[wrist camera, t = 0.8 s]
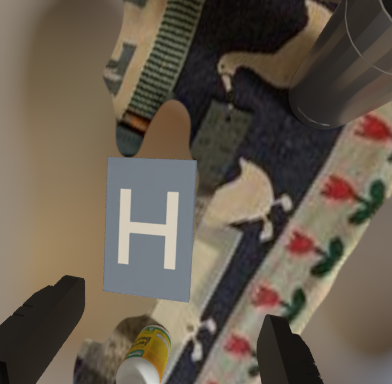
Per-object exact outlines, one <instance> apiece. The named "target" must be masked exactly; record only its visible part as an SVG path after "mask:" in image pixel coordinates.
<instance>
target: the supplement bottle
mask: <svg viewBox="0 0 392 384" xmlns="http://www.w3.org/2000/svg"><path fill="white" fill-rule="evenodd" d="M171 348H172V340H171V337H170V335H169V333H168V332H167V330H165V329H164V328H163V327H161V326H158V325H149V326H146V327H145V328H143V329H142V330H141V332H140V333H139V335H138V337H137V338H136V340H135V342H134V343H133V345H132V347H131V348H130V350H129V352H128V353H127V355H126V357H125V359H124V360H123V362H122V364H121V365H120V367H119V369H118V372H117V377H116V384H160V382H161V379H162V376H163V373H164V370H165V367H166V364H167V361H168V358H169V355H170V352H171Z"/></svg>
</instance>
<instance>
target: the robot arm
mask: <svg viewBox="0 0 392 384" xmlns="http://www.w3.org/2000/svg"><path fill="white" fill-rule="evenodd" d="M288 94H289V104H290V108H291V110H292V112H293V113H294V115H295V116H296V117H297V118H298V120H299V121H301V122H302V123H303V124H305V125H307V126H309V127H311V128H316V129H333V128H337V127H339V126H342V125H344V124H346V123H348V122H350V121H352V120H354V119H356V118H358V117H360V116H363V115H365V114H367V113H369V112H371V111H373V110H375V109H377V108H379V107H381V106H383V105H385V104H387V103H389V102H391V101H392V0H341V2H340V3H339V5H338V6H337V8H336V10H335V11H334V13H333V14H332V16H331V18H330V19H329V21H328V22H327V24H326V26H325V27H324V29H323V30H322V32H321V34H320V35H319V37H318V39H317V40H316V42H315V43H314V45H313V47H312V48H311V50H310V51H309V53H308V55H307V56H306V58H305V59H304V61H303V63H302V64H301V66H300V67H299V69H298V71H297V72H296V74H295V76H294V77H293V79H292V82H291V84H290V88H289V93H288ZM84 308H85V280H84V278H80V277H74V276H69V275H65V276H63V277H62V278H61V279H60V280H59V281H58V282H57V283H56V284H55V285H54V286H50V285H48V286H47V287H45V288H43V289H41V290H40V291H38V292H36V293H34V294H33V295H32V296H31V297H30V298H29V299H28V300H27V301H26V302H25V303H24V304H23V306H21V307H19V308H18V309H17V310H16V311H15V312H14V313H13V315H12V316H10V317H9V318H7V319H6V320H5V321H4V322H3V323H2V324H1V325H0V384H36V382H37V381H38V380H39V378H40V377H41V375H42V374H43V372H44V371H45V369H46V368H47V367H48V365H49V364H50V362H51V361H52V360H53V358H54V357H55V355H56V354H57V352H58V351H59V349H60V348H61V347H62V345H63V343H64V342H65V341H66V339H67V338H68V336H69V335H70V334H71V332H72V331H73V329H74V328H75V326H76V325H77V324H78V322H79V320H80V319H81V317H82V314H83V312H84ZM257 360H258V365H259V371H260V377H261V383H262V384H324V383H323V381H322V379H321V378H320V373H319V371H318V369H317V366H315V361H314V359H313V357H312V354H311V352H310V349H309V348H308V346H307V345H306V344H305V342H304V341H303V340H302V338H301V337H300V336H299V335H298V334H293V333H292V332H291V329H290V326H289V324H288V321H287V319H286V318H285V317H279V316H274V315H269V314H267V315H266V316H265V319H264V322H263V325H262V328H261V331H260V334H259V337H258V341H257Z"/></svg>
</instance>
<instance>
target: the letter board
mask: <svg viewBox="0 0 392 384" xmlns="http://www.w3.org/2000/svg"><path fill="white" fill-rule="evenodd" d="M196 173H197V161H196V160H175V159H173V160H172V159H150V158H126V157H108V159H107V190H106V221H105V222H106V223H105V252H104V253H105V254H104V283H103V291H107V292H115V293H123V294H130V295H137V296H144V297H151V298H159V299H166V300H173V301H181V302H188V303H189V300H190V285H191V266H192V248H193V229H194V210H195V192H196Z"/></svg>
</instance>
